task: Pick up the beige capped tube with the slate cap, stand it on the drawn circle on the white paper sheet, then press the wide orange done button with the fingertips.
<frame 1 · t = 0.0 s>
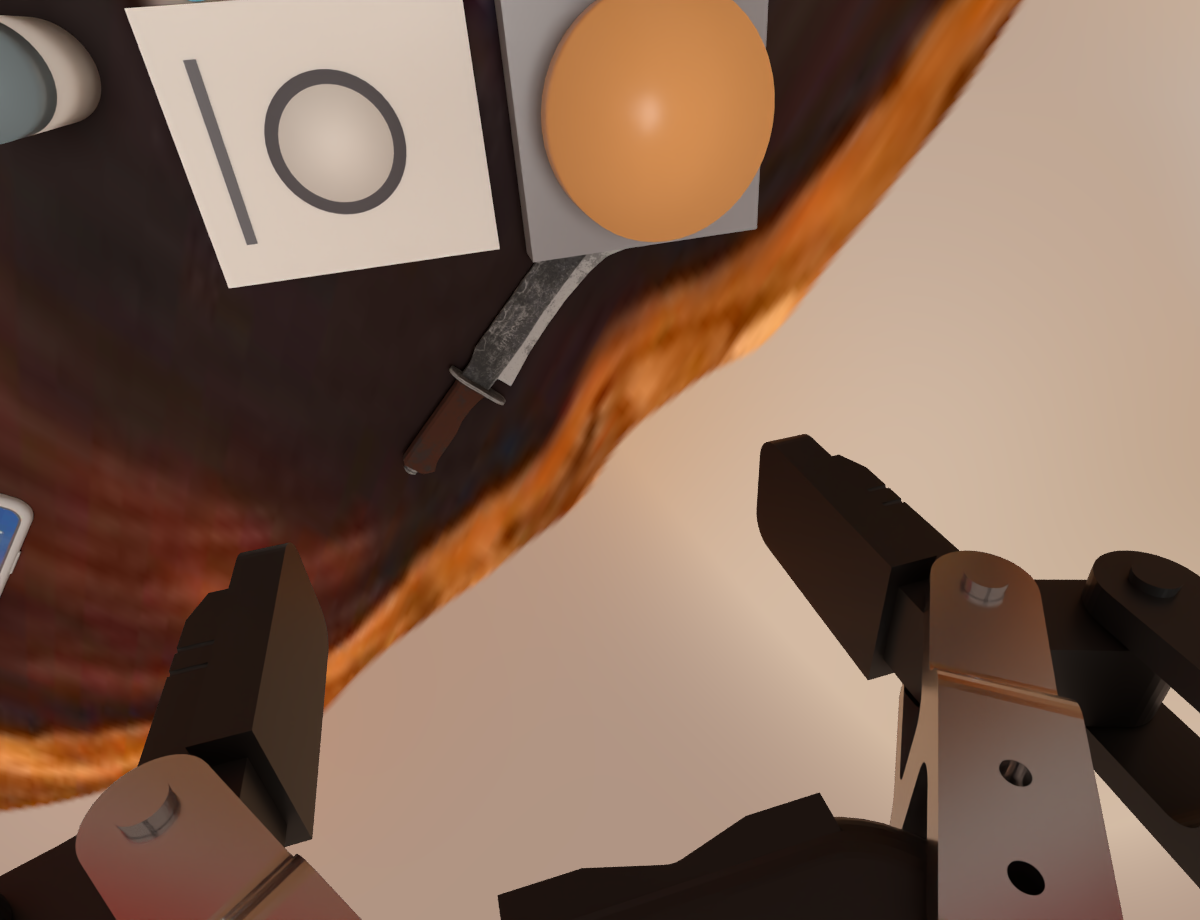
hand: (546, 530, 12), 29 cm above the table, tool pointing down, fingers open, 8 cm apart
beige capped tube: (45, 72, 29), on the table
paper: (337, 144, 33), on the table
button base: (632, 111, 36), on the table
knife: (541, 302, 41), on the table, touching button base
done button: (658, 119, 33), point 4 cm above the table, slide at 0.0 cm
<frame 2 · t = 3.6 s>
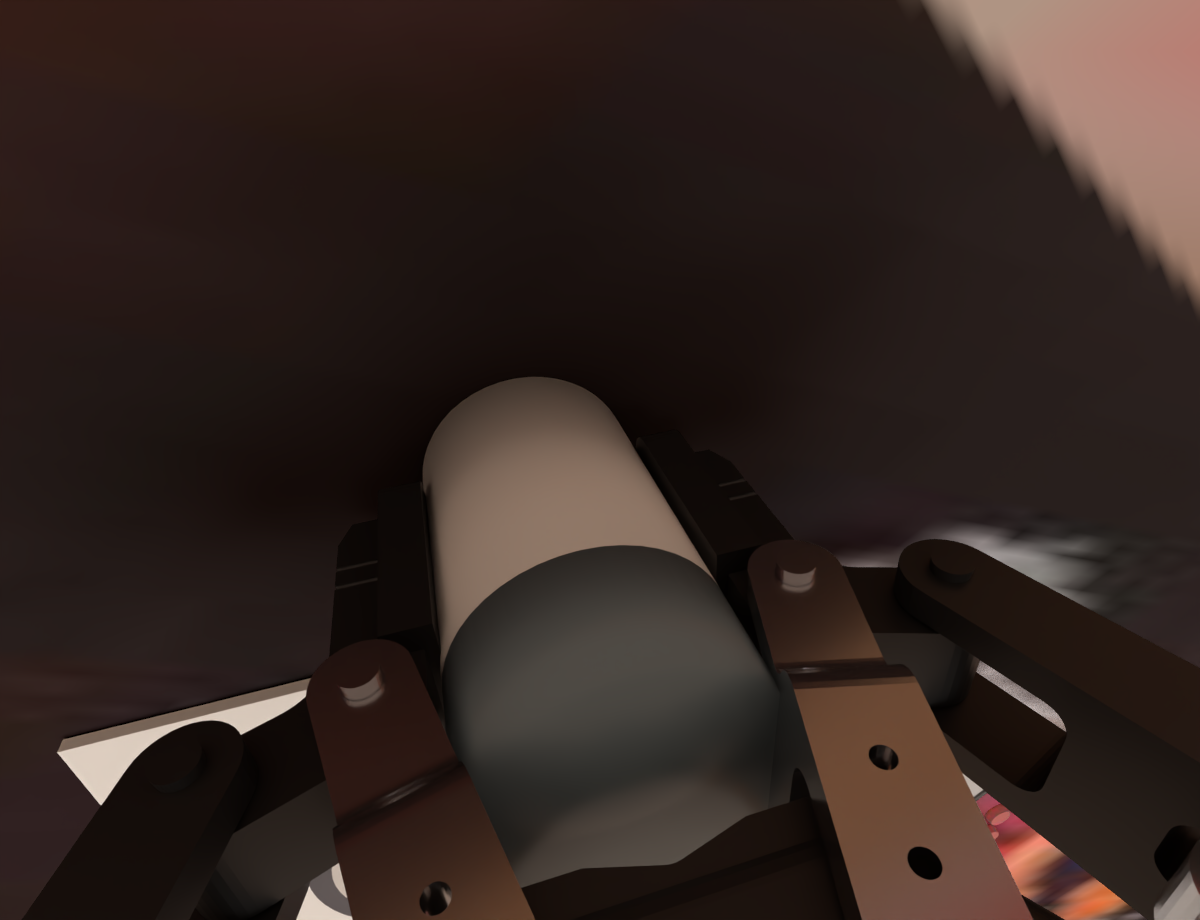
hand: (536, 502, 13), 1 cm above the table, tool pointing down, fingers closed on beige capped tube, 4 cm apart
beige capped tube: (528, 470, 13), on the table, touching gripper
gaming console: (810, 779, 24), on the table
paper: (435, 838, 19), on the table
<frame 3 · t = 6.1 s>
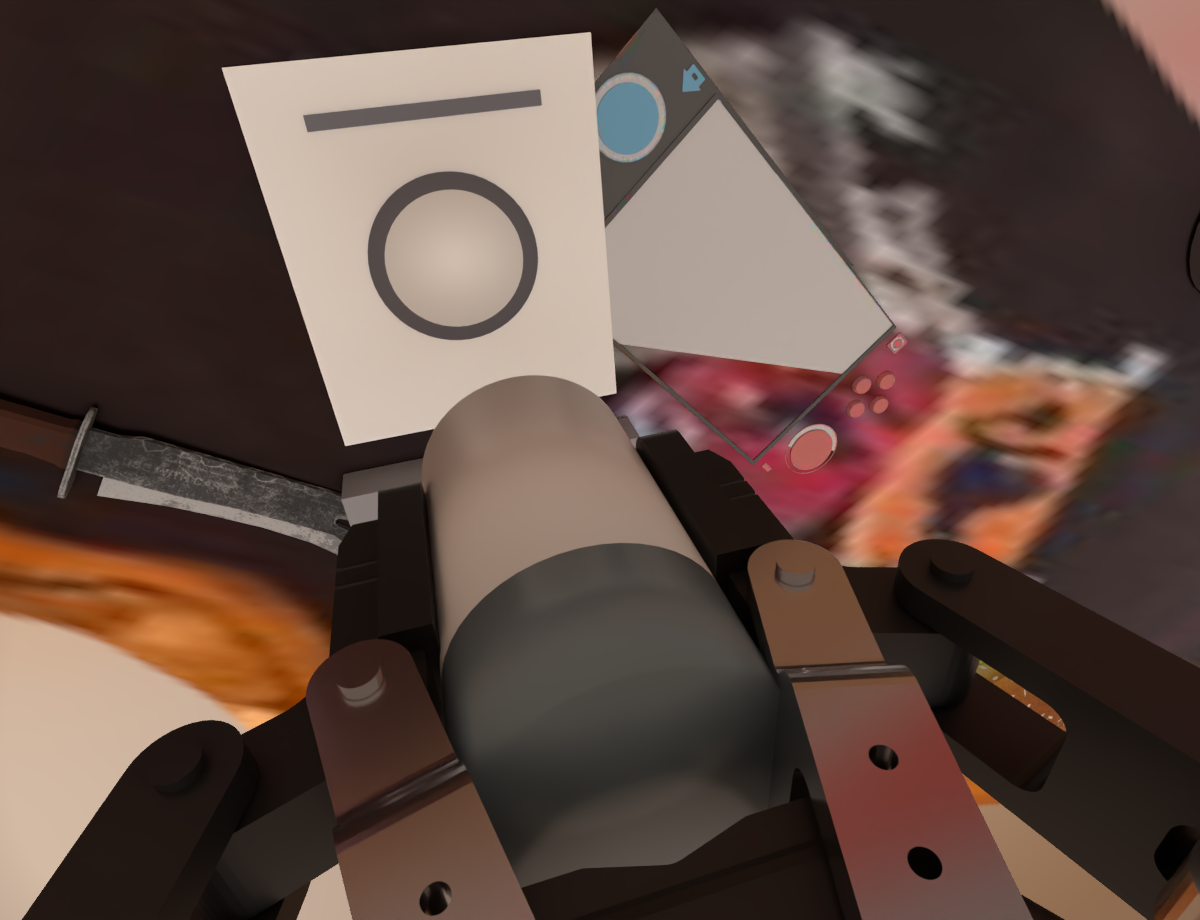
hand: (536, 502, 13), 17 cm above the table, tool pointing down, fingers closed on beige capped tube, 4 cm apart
beige capped tube: (527, 469, 13), point 16 cm above the table, touching gripper
gaming console: (732, 304, 32), on the table
paper: (454, 258, 27), on the table
button base: (511, 553, 35), on the table
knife: (247, 495, 30), on the table, touching button base
food: (951, 644, 50), on the table
when the fingers open (3 cm above the table, at t = 9.1 s): beige capped tube drops 1 cm, resting on paper.
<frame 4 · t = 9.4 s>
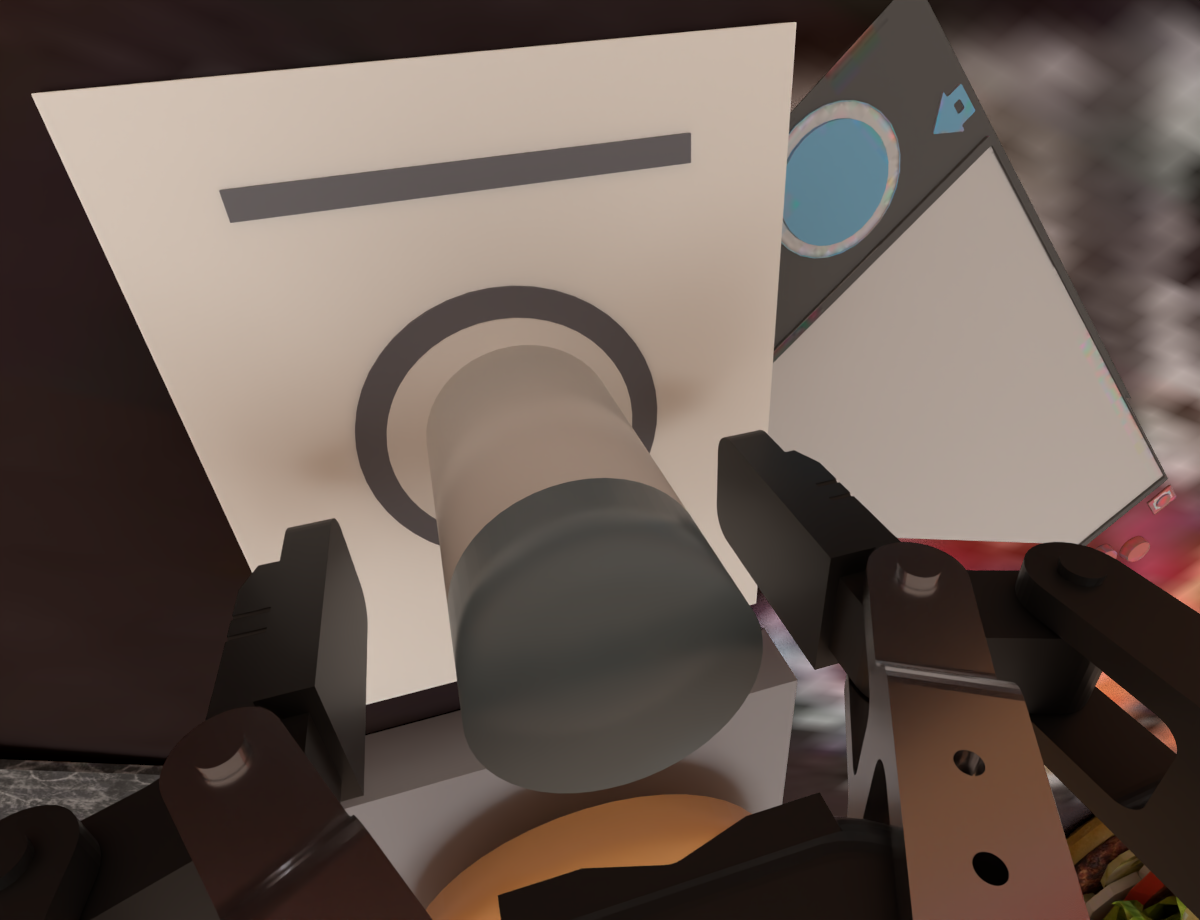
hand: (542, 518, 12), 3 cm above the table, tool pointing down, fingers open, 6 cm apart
beige capped tube: (523, 434, 15), resting on paper
gaming console: (938, 459, 20), on the table
paper: (511, 426, 15), on the table
button base: (575, 813, 23), on the table
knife: (137, 787, 18), on the table, touching button base
food: (1122, 829, 39), on the table
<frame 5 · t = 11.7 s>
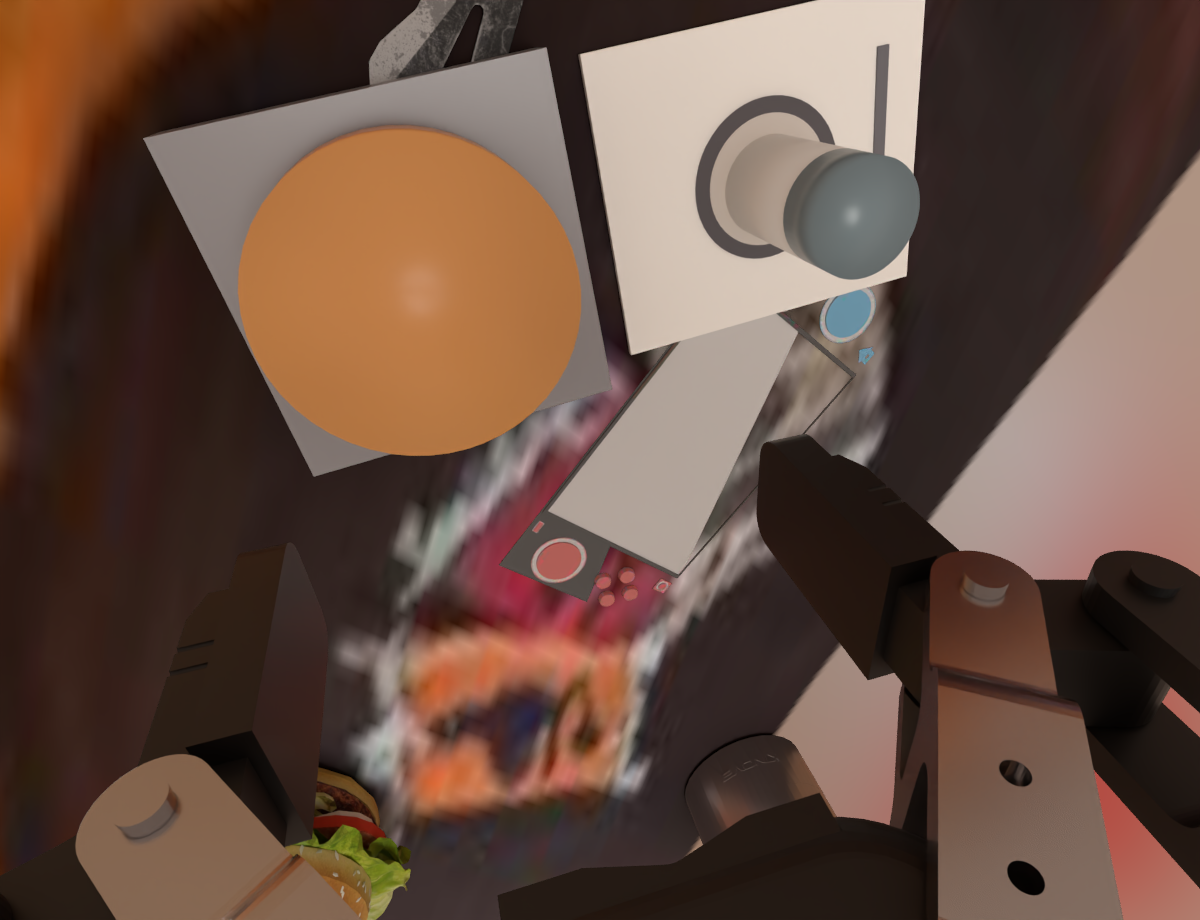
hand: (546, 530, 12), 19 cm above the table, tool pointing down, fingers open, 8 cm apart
beige capped tube: (769, 186, 29), resting on paper
gaming console: (695, 437, 36), on the table
paper: (763, 180, 29), on the table
button base: (415, 270, 27), on the table
done button: (420, 303, 24), point 4 cm above the table, slide at 0.0 cm
food: (284, 823, 42), on the table
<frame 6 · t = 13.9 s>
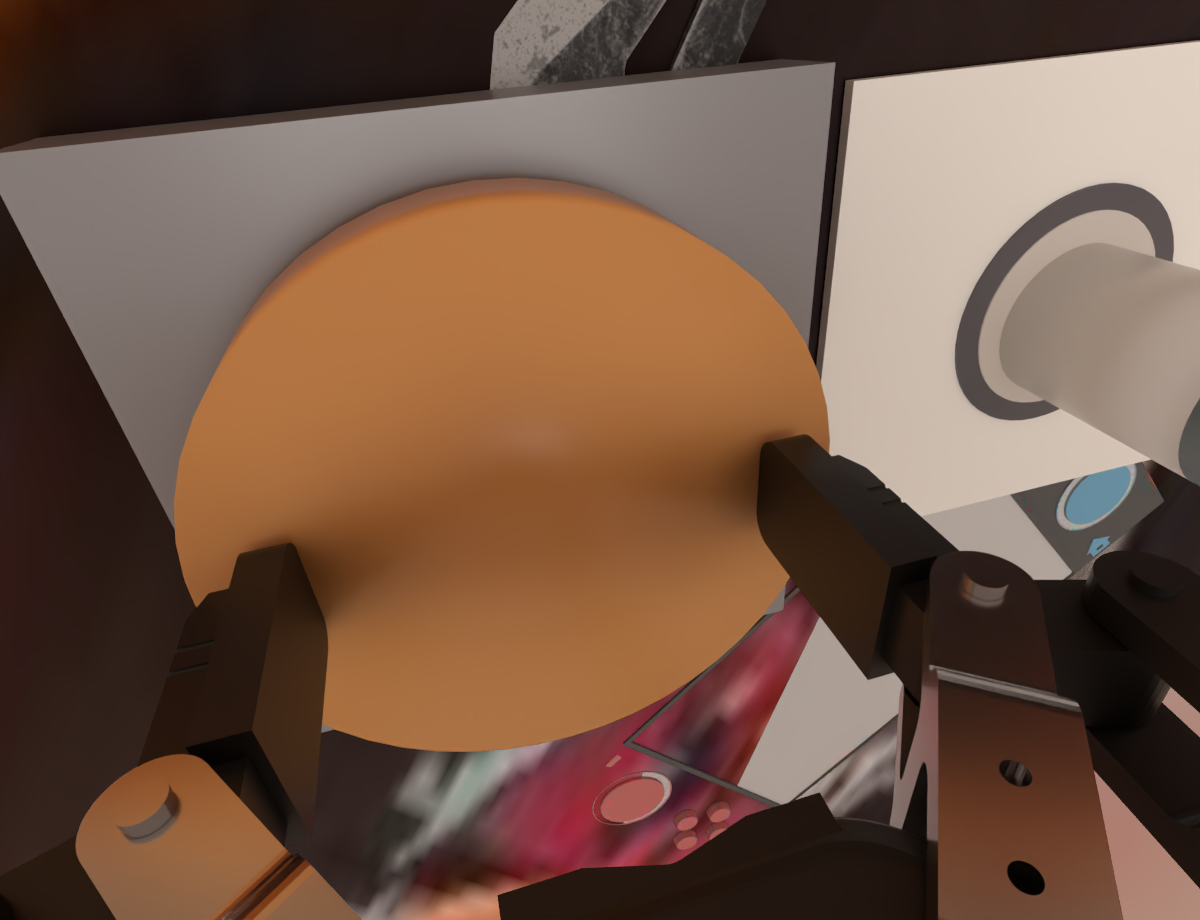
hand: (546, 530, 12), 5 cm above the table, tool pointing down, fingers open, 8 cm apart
beige capped tube: (1066, 319, 18), resting on paper
gaming console: (847, 640, 25), on the table
paper: (1053, 307, 18), on the table
button base: (500, 414, 16), on the table
done button: (530, 505, 13), point 4 cm above the table, slide at 0.5 cm, touching gripper
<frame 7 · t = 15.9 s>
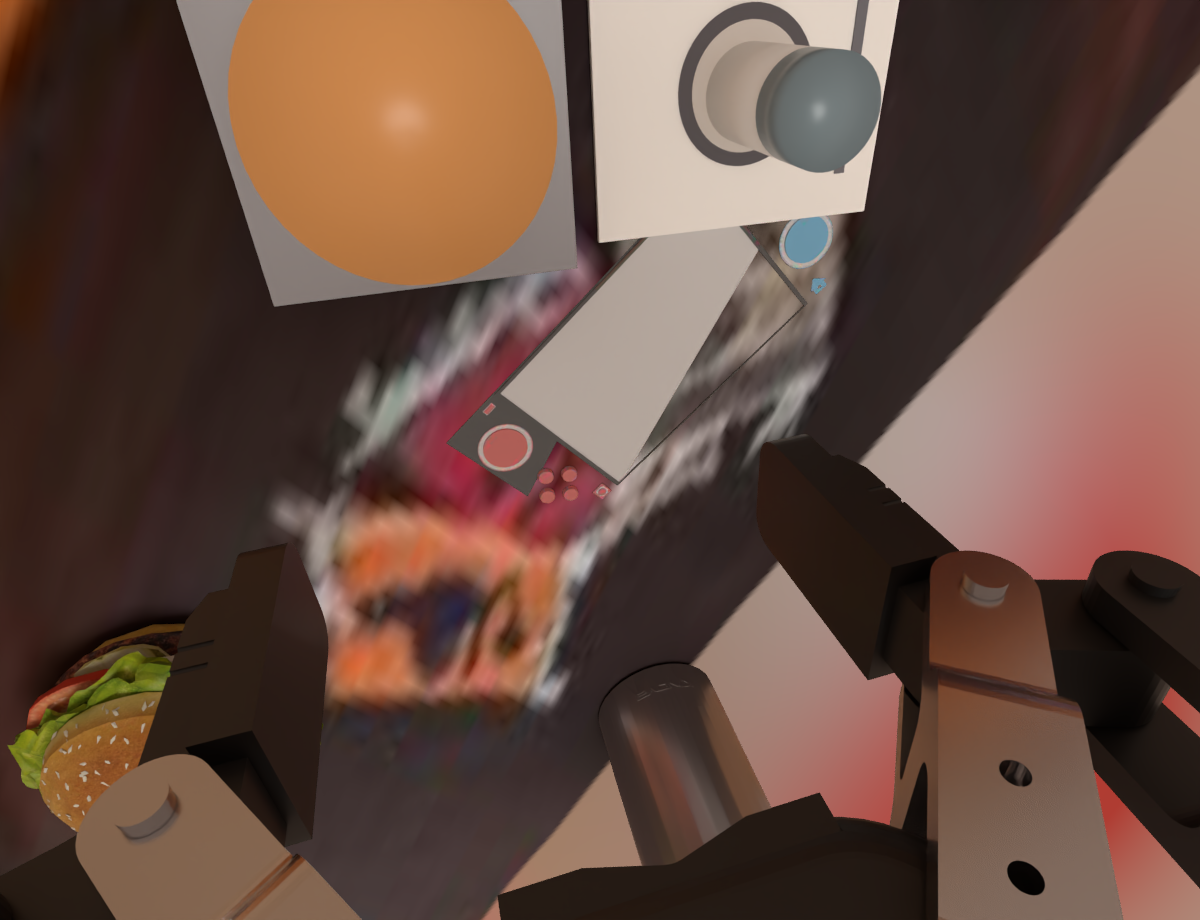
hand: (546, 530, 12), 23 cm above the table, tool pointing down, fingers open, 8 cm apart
beige capped tube: (748, 93, 31), resting on paper
gaming console: (650, 343, 37), on the table
paper: (743, 87, 31), on the table
button base: (400, 115, 28), on the table
done button: (402, 127, 25), point 4 cm above the table, slide at 0.5 cm
food: (196, 689, 42), on the table
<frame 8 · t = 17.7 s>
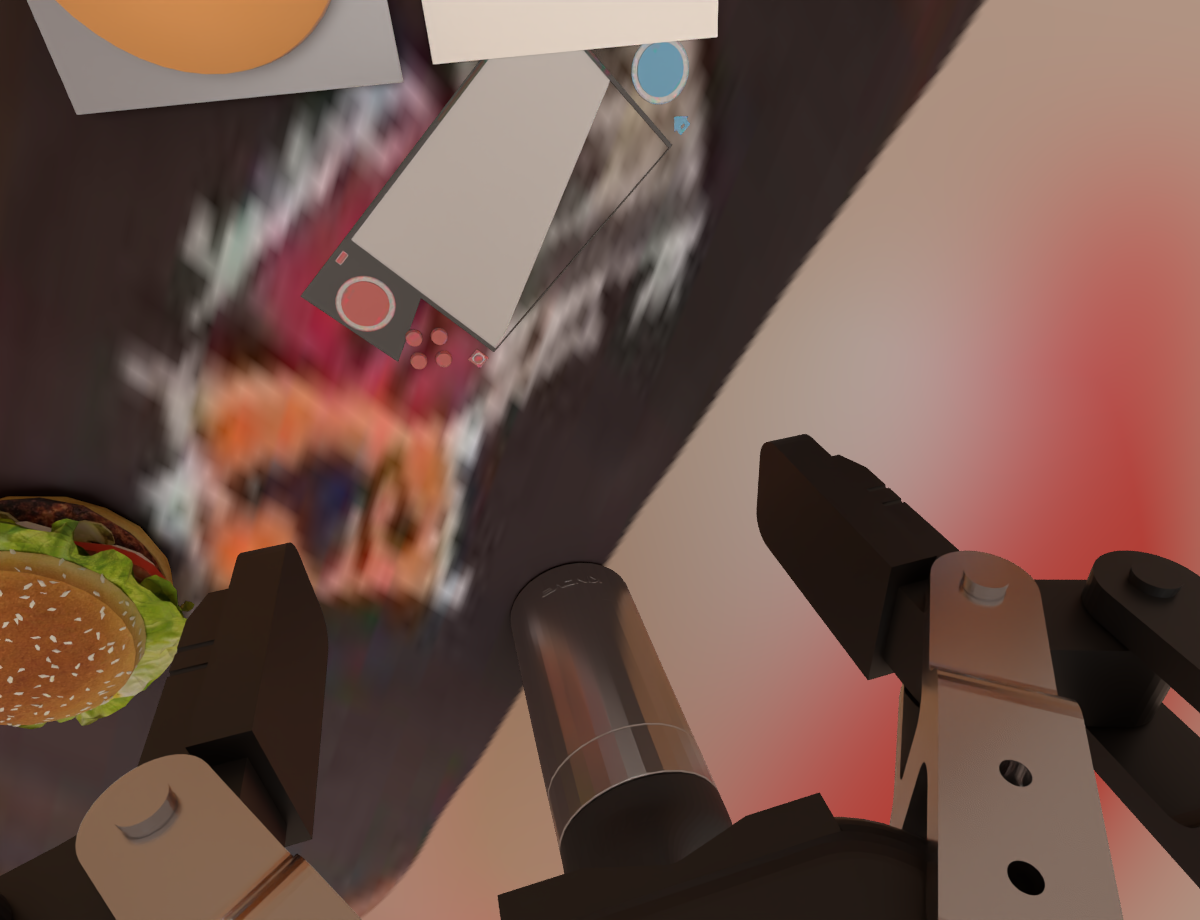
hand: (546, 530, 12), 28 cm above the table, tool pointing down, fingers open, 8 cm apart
gaming console: (510, 190, 36), on the table
food: (69, 576, 40), on the table
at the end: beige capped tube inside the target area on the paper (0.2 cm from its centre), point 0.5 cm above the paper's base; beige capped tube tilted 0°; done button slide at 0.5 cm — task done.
